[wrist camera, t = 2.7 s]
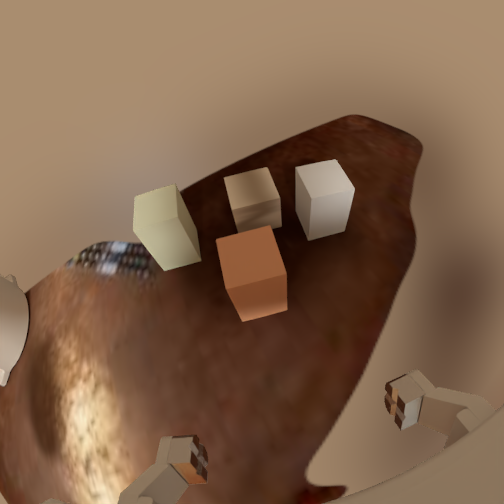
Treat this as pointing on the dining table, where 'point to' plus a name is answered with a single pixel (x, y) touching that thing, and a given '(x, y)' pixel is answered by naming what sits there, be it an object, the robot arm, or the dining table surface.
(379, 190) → the dining table surface
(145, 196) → the sage block
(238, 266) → the terracotta block
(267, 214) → the off-white cube
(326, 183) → the light grey block
